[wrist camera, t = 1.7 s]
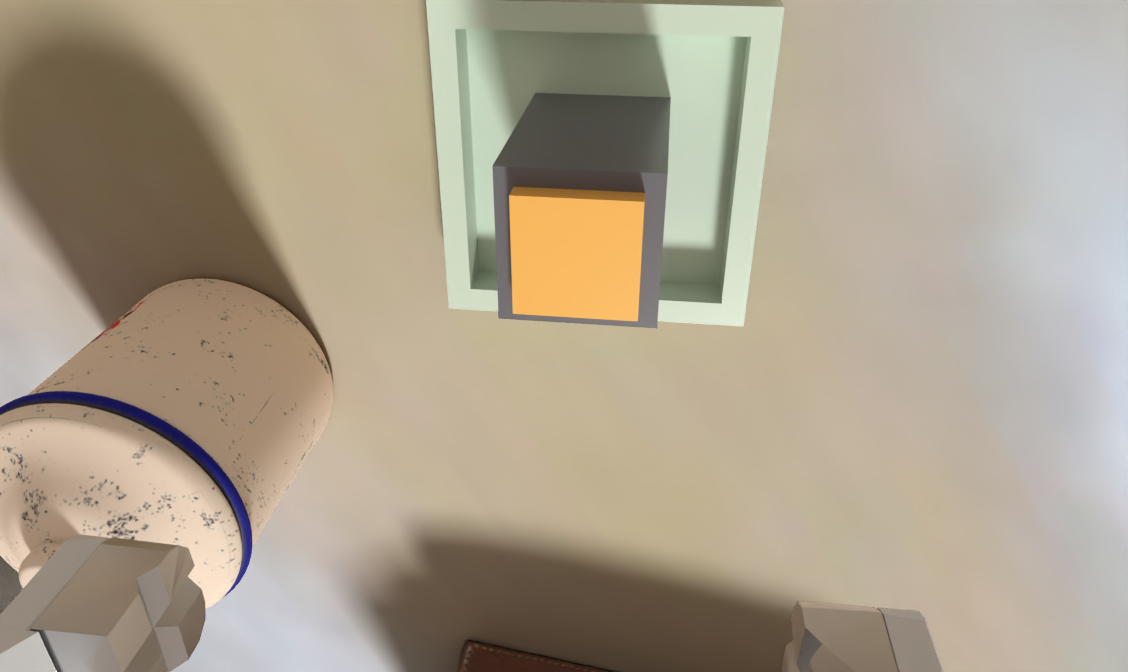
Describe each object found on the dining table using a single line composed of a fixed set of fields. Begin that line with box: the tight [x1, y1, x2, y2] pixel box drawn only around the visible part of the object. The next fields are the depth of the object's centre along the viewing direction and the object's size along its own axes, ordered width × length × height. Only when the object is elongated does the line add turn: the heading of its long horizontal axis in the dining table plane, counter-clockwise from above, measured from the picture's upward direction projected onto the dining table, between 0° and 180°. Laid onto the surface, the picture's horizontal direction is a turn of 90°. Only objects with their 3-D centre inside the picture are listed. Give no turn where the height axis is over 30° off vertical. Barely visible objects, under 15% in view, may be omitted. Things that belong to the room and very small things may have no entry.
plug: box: [492, 93, 671, 328], centre depth 24 cm, size 4×4×8 cm
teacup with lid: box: [0, 278, 334, 609], centre depth 30 cm, size 12×9×12 cm
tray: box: [426, 0, 785, 326], centre depth 27 cm, size 10×10×2 cm
